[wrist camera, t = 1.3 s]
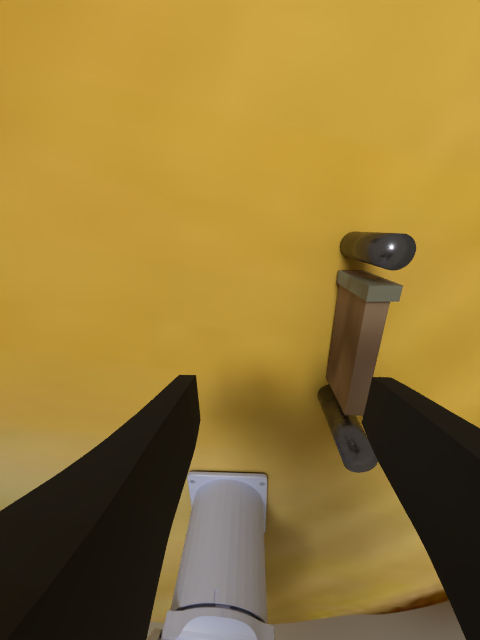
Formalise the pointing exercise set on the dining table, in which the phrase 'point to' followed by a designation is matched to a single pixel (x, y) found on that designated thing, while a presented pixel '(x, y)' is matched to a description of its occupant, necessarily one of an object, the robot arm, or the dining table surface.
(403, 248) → the gate posts
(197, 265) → the dining table surface
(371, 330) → the brown wooden block
